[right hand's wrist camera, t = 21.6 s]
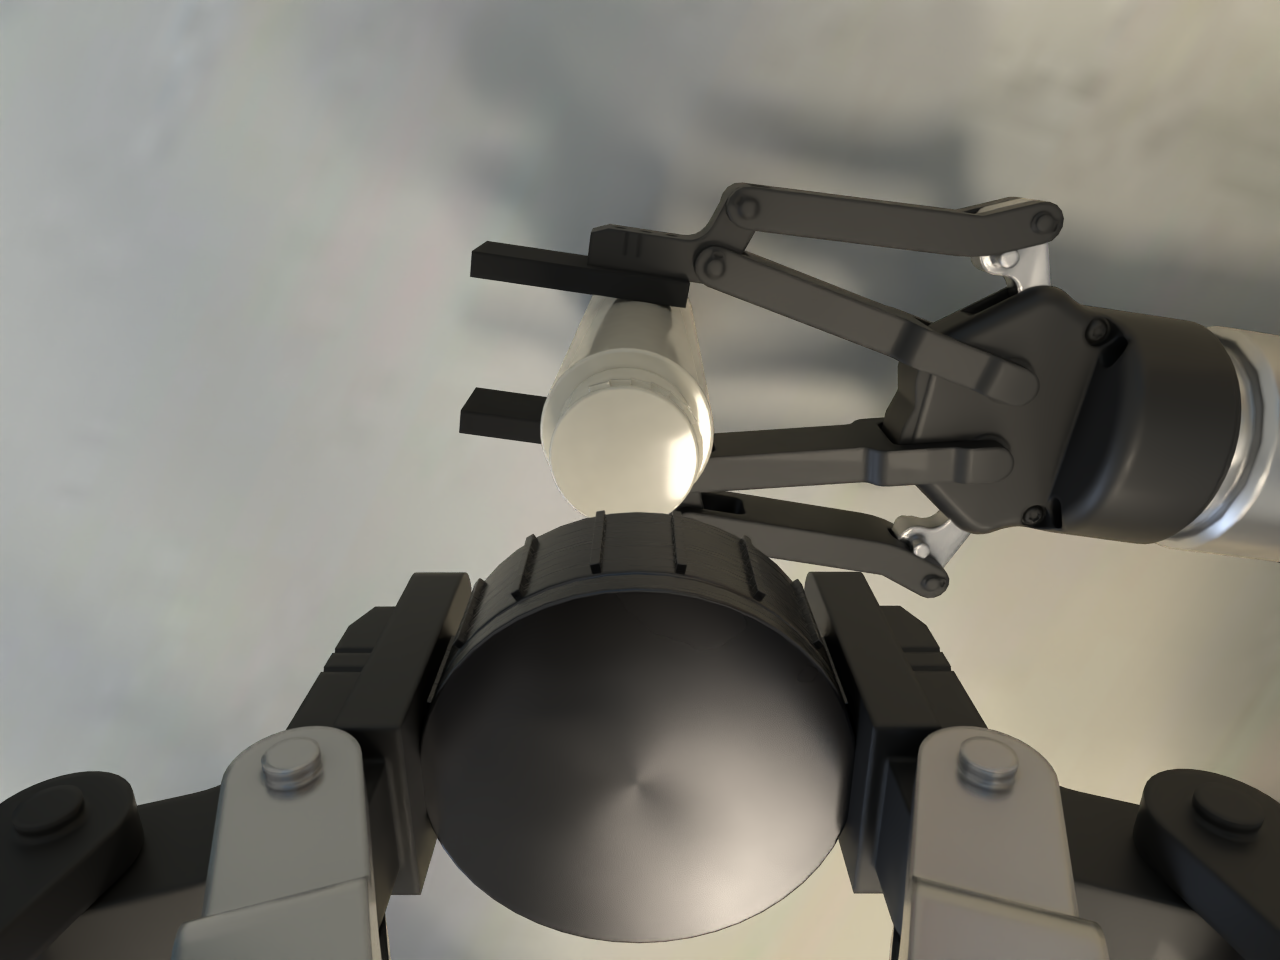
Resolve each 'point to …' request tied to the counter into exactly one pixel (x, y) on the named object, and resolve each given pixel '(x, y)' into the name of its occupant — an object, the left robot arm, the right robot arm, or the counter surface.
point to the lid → (637, 732)
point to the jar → (629, 410)
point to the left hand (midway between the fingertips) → (474, 336)
